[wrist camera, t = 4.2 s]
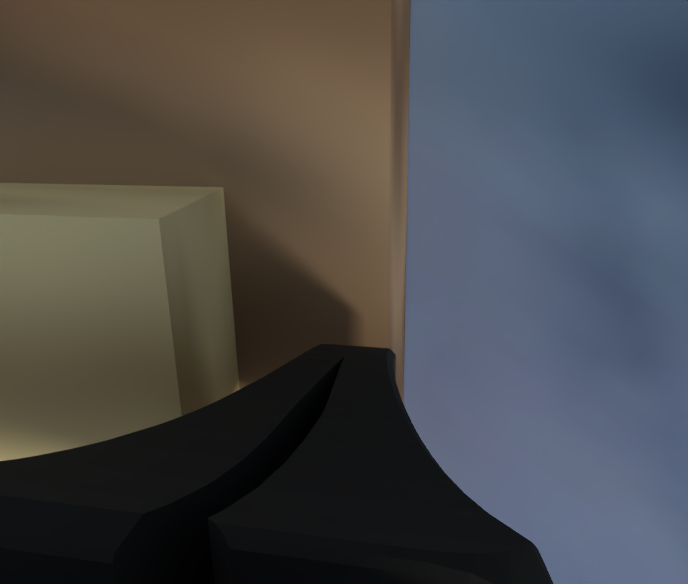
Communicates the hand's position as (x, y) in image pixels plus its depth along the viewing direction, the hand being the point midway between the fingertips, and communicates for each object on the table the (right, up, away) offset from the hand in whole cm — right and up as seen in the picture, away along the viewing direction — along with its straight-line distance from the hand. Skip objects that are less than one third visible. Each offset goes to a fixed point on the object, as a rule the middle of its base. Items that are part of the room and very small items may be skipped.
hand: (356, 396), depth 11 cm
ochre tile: (-5, +1, +2) cm, 5 cm away
